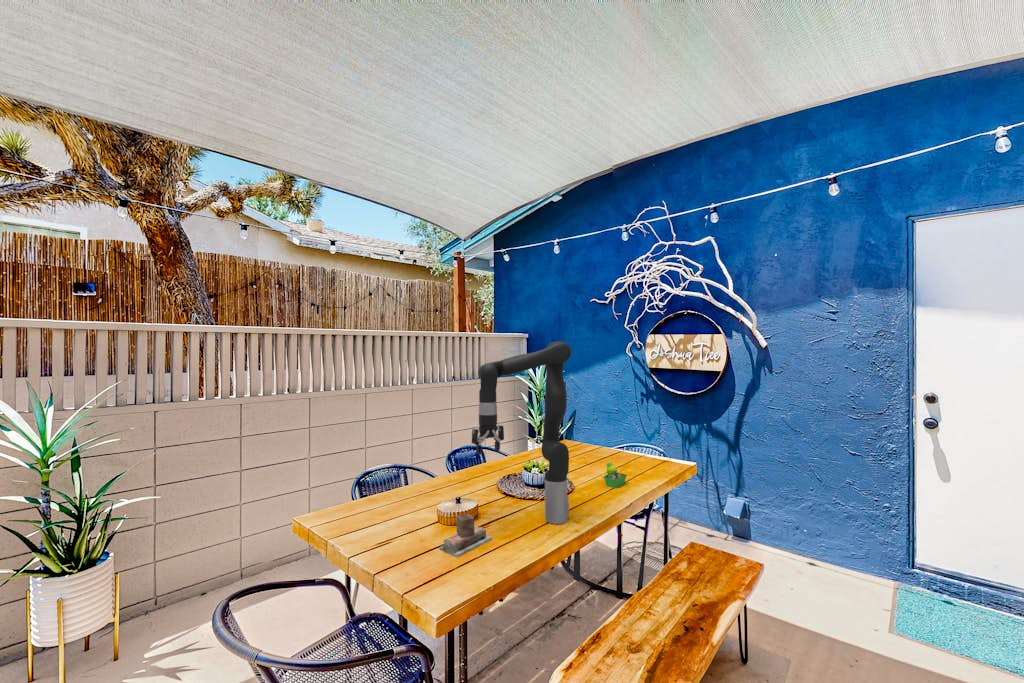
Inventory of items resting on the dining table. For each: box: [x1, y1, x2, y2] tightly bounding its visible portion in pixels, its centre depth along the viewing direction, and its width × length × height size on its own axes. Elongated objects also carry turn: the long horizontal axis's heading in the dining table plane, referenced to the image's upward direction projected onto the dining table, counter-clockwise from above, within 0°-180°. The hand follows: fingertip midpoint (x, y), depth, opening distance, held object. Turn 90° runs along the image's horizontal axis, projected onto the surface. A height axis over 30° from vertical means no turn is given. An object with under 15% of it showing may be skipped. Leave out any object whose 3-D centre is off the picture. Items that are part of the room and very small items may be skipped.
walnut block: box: [456, 513, 475, 537], centre depth 159 cm, size 5×5×6 cm
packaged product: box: [438, 526, 493, 558], centre depth 160 cm, size 18×5×10 cm
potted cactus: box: [603, 462, 628, 489], centre depth 226 cm, size 11×9×11 cm
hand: (488, 452), depth 176 cm, fingers open, 8 cm apart
